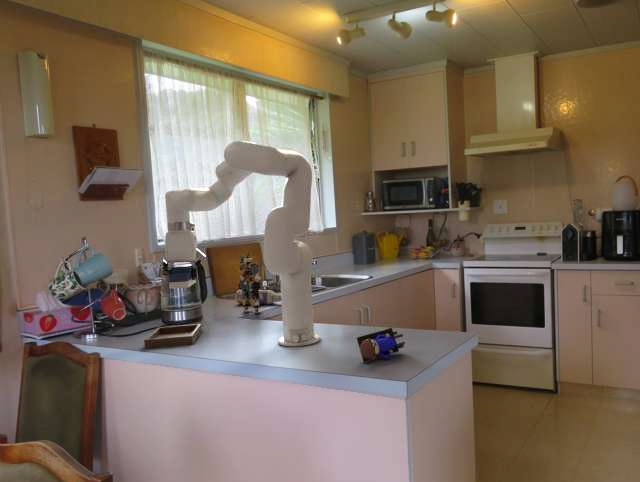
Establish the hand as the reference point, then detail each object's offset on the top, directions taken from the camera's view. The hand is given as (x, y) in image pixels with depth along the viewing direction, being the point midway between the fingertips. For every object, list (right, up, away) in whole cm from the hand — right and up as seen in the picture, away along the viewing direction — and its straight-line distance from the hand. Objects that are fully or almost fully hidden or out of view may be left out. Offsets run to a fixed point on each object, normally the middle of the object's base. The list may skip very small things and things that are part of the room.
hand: (183, 280), depth 182 cm
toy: (+14, -16, +40) cm, 46 cm away
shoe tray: (-3, -20, -1) cm, 20 cm away
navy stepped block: (0, -2, -1) cm, 2 cm away
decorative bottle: (+13, -15, +62) cm, 65 cm away
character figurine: (+67, -19, -38) cm, 79 cm away
